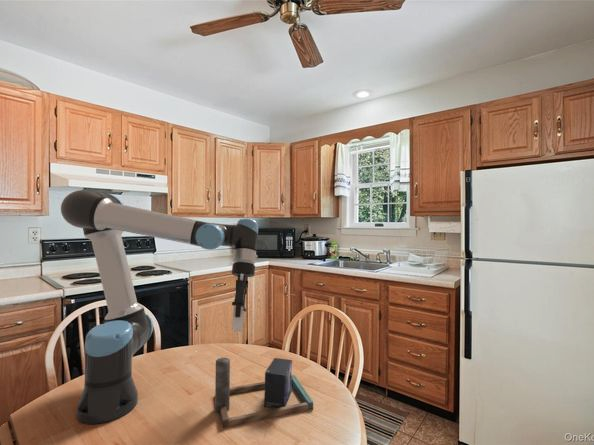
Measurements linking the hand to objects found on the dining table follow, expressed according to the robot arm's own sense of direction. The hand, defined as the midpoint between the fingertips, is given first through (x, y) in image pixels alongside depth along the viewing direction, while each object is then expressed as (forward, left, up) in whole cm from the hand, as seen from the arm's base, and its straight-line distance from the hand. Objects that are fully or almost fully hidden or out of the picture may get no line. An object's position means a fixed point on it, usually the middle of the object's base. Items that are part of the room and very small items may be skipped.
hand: (237, 330), depth 95 cm
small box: (+12, -5, -21) cm, 25 cm away
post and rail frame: (+7, -5, -20) cm, 22 cm away
